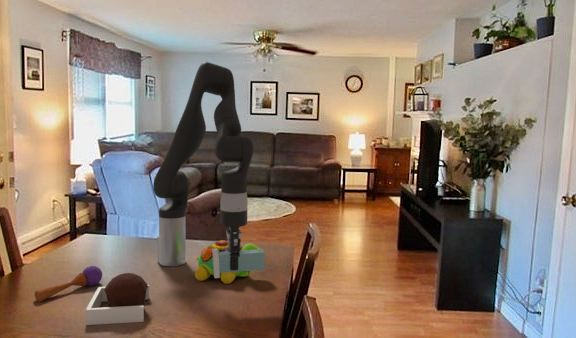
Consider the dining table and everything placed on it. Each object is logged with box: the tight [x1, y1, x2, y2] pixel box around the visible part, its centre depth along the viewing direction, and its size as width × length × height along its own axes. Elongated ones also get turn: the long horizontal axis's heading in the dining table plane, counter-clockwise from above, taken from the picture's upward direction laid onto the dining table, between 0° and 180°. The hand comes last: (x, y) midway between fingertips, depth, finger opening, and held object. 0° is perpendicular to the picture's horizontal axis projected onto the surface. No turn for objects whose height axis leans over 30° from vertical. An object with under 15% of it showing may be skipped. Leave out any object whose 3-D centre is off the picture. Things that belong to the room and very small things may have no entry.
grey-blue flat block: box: [212, 248, 266, 279], centre depth 133 cm, size 14×11×5 cm
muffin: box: [104, 272, 149, 307], centre depth 128 cm, size 12×11×10 cm
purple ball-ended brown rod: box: [34, 265, 103, 303], centre depth 141 cm, size 6×6×20 cm
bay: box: [85, 284, 150, 326], centre depth 128 cm, size 14×16×4 cm
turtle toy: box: [194, 239, 261, 285], centre depth 158 cm, size 17×23×12 cm
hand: (233, 267), depth 133 cm, fingers closed on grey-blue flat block, 3 cm apart
